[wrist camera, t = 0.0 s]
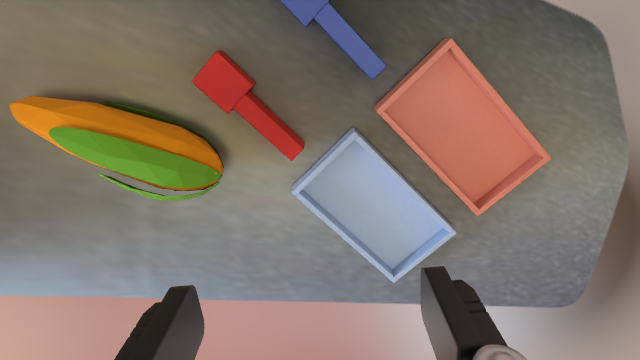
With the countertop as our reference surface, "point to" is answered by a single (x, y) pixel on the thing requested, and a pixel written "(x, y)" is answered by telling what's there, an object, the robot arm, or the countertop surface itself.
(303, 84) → the countertop surface
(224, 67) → the red paddle block
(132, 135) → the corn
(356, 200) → the blue tray
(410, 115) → the red tray
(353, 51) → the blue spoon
